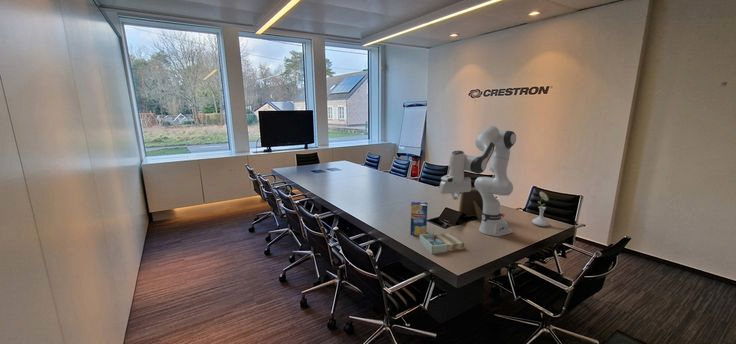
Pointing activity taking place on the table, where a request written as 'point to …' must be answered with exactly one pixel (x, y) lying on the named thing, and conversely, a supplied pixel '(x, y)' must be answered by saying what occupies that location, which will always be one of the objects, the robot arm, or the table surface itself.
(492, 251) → the table surface
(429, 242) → the tile
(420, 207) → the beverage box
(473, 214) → the photo frame
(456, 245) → the beige shallow box
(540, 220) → the flower in vase
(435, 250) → the tray
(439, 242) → the tile
